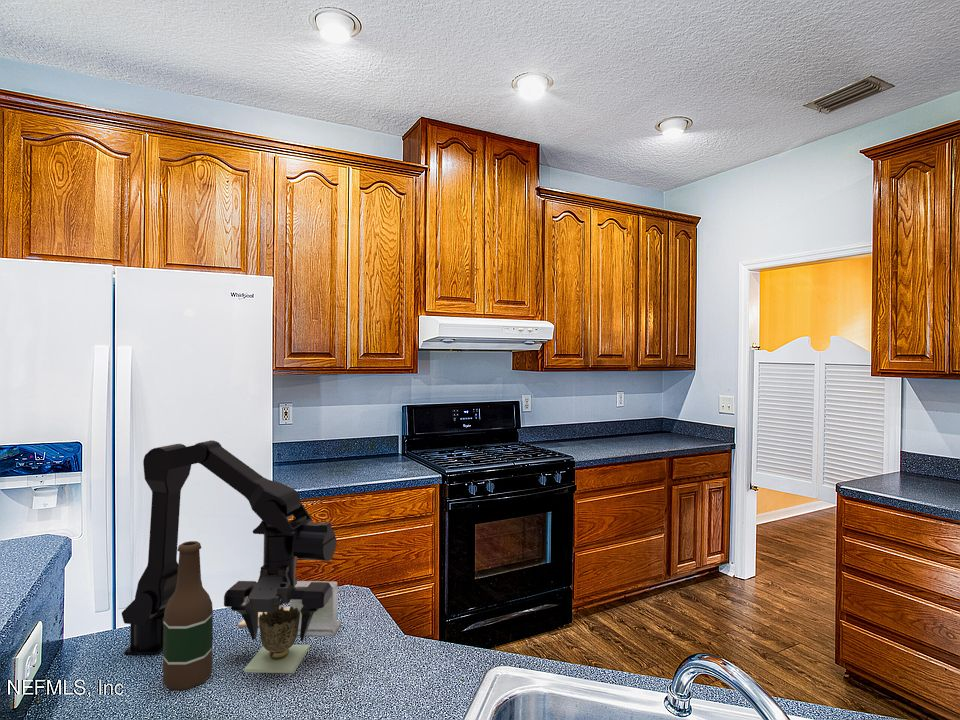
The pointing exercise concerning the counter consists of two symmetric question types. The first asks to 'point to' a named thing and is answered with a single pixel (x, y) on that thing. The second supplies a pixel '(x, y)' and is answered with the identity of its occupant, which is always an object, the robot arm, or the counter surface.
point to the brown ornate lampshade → (279, 631)
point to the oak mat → (243, 624)
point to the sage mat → (277, 661)
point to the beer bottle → (187, 625)
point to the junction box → (320, 613)
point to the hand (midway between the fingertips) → (278, 639)
